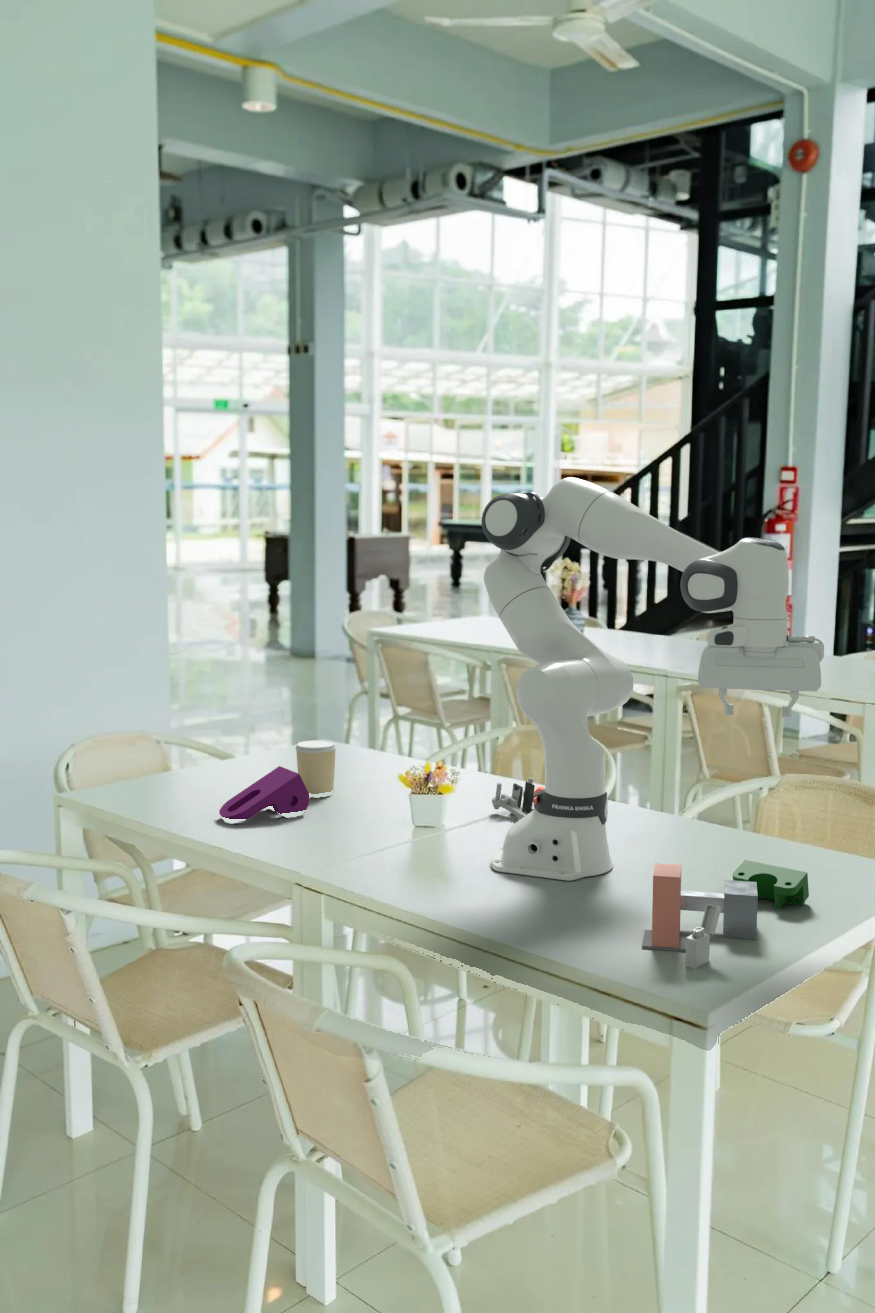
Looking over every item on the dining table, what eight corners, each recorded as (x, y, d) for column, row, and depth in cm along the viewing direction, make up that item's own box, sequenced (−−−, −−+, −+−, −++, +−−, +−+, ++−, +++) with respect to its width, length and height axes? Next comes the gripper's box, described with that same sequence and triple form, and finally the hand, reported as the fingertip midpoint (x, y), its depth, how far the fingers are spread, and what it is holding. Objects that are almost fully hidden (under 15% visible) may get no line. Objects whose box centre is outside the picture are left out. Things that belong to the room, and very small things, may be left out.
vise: (651, 931, 187) (652, 888, 187) (653, 916, 194) (654, 875, 193) (756, 939, 184) (757, 896, 183) (755, 924, 190) (756, 882, 190)
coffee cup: (320, 787, 283) (319, 738, 282) (344, 794, 277) (344, 743, 275) (288, 794, 277) (287, 743, 276) (312, 801, 270) (311, 749, 269)
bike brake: (484, 810, 259) (546, 844, 244) (487, 781, 257) (551, 813, 242) (529, 801, 267) (593, 834, 252) (533, 773, 266) (597, 804, 251)
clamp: (744, 925, 203) (721, 878, 203) (759, 907, 207) (736, 861, 207) (805, 914, 194) (781, 865, 194) (819, 897, 199) (795, 849, 198)
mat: (642, 948, 180) (642, 945, 180) (644, 932, 187) (644, 929, 187) (689, 952, 179) (689, 949, 179) (690, 935, 186) (690, 933, 185)
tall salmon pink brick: (651, 945, 180) (653, 875, 179) (653, 931, 186) (655, 863, 185) (678, 948, 179) (680, 877, 178) (679, 933, 186) (681, 864, 184)
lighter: (695, 969, 172) (696, 916, 171) (684, 966, 174) (685, 913, 172) (719, 955, 178) (721, 903, 176) (709, 952, 179) (711, 901, 178)
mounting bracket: (247, 853, 251) (315, 805, 259) (230, 820, 248) (299, 773, 256) (229, 842, 259) (295, 797, 267) (212, 811, 256) (279, 765, 264)
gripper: (823, 634, 201) (820, 714, 203) (699, 631, 206) (697, 710, 208) (826, 638, 195) (823, 721, 197) (698, 635, 200) (696, 716, 201)
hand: (757, 715), depth 202 cm, fingers open, 8 cm apart
